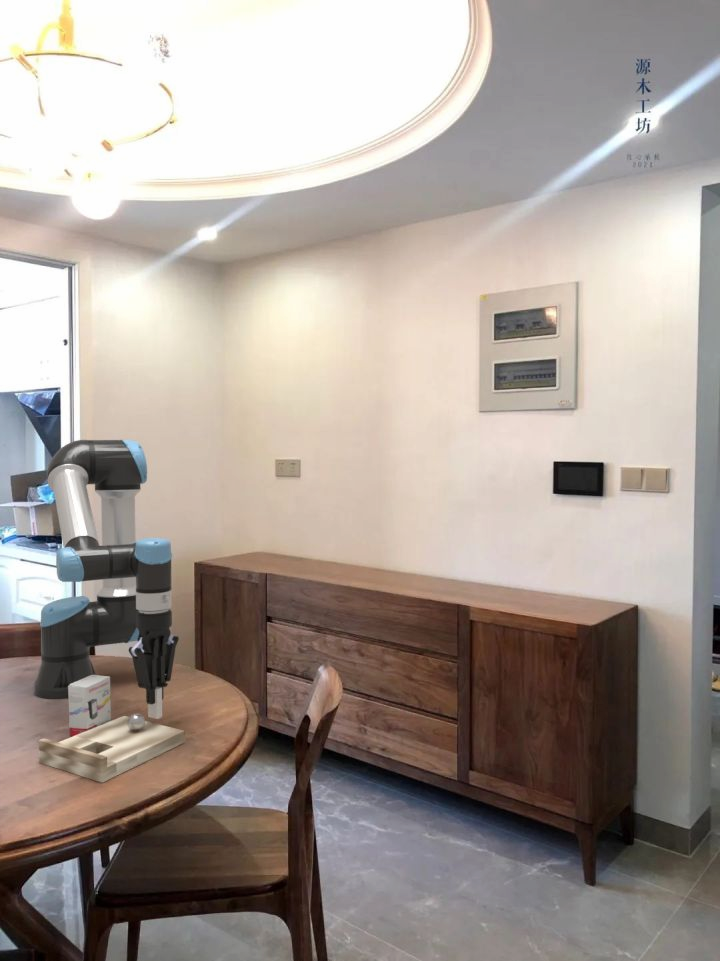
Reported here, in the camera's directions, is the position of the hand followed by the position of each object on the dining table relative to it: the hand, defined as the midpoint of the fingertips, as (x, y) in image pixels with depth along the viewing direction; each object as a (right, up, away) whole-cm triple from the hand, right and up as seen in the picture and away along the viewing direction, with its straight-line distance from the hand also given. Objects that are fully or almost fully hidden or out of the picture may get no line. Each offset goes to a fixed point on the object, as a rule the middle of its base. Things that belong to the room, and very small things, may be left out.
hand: (155, 716), depth 162 cm
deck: (-6, -4, -10) cm, 12 cm away
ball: (-3, 0, -5) cm, 5 cm away
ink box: (-14, -4, 0) cm, 15 cm away
